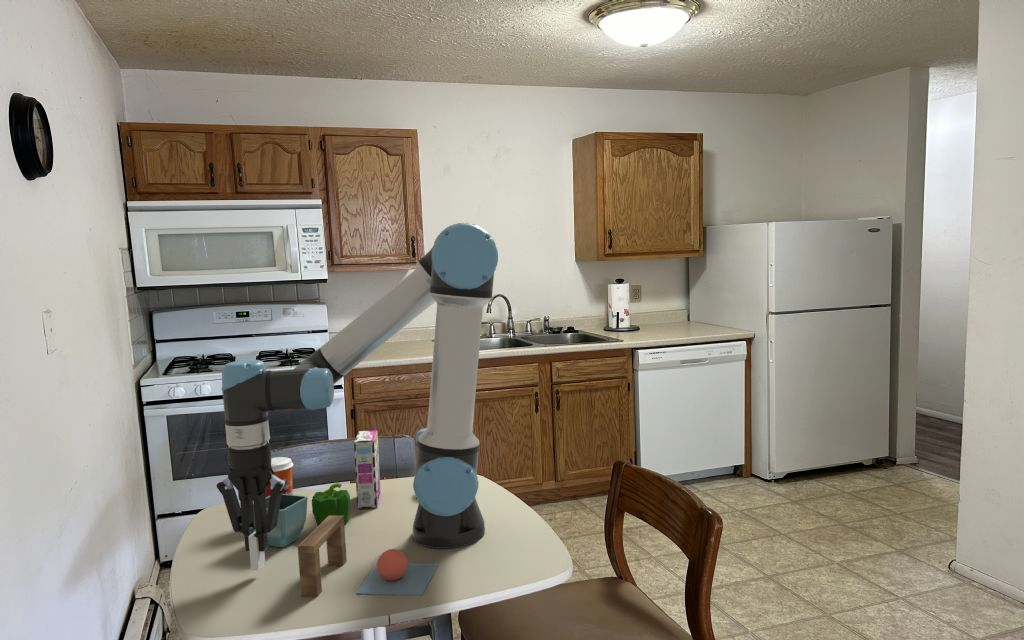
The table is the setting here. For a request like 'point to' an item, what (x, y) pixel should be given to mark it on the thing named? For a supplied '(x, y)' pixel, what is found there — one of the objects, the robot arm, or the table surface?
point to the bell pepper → (331, 504)
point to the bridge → (310, 557)
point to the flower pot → (288, 520)
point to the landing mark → (399, 581)
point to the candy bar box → (367, 469)
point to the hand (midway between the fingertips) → (258, 567)
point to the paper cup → (282, 473)
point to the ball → (392, 564)
